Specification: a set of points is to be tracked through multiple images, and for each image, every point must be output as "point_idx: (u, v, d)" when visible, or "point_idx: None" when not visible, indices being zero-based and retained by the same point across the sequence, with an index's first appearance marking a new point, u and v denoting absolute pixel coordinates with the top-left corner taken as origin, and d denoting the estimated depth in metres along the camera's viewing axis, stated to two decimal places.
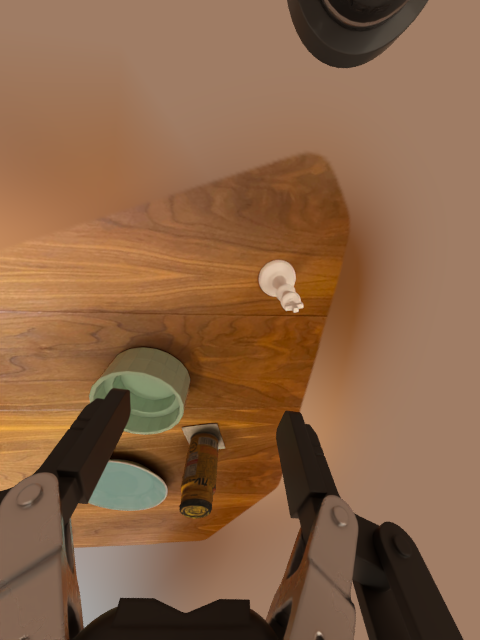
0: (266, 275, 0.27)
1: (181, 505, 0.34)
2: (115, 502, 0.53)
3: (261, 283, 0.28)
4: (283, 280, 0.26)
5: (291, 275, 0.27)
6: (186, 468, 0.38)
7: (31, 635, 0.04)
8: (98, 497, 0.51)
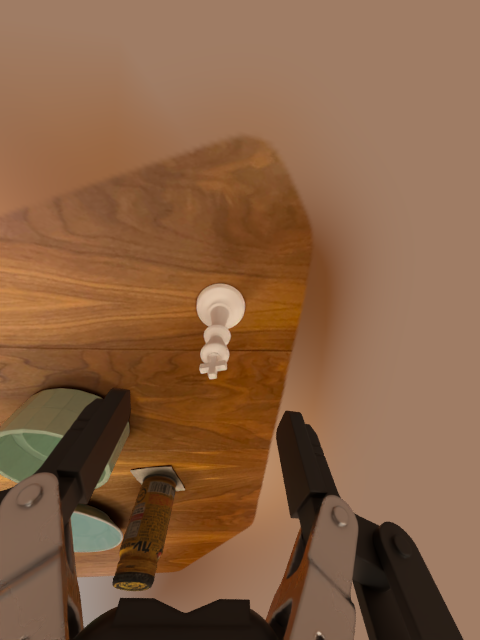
0: (203, 304, 0.20)
1: (113, 580, 0.27)
2: None
3: (199, 314, 0.21)
4: (222, 313, 0.19)
5: (237, 304, 0.20)
6: (129, 525, 0.32)
7: (31, 635, 0.04)
8: None
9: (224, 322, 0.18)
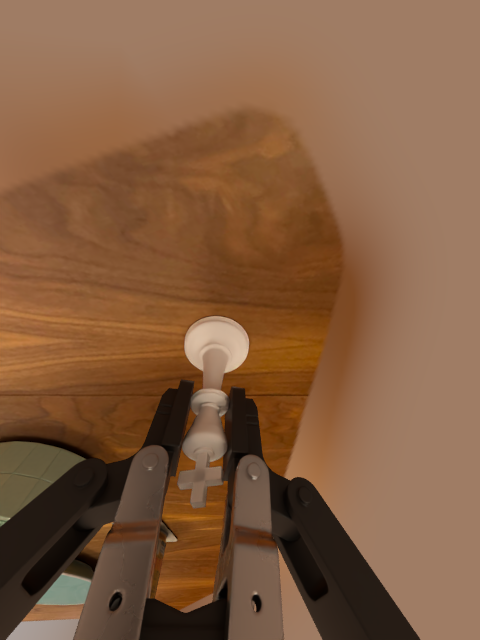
0: (193, 344, 0.15)
1: None
2: (44, 595, 0.41)
3: (188, 355, 0.16)
4: (218, 361, 0.13)
5: (239, 343, 0.15)
6: None
7: (124, 595, 0.04)
8: None
9: (221, 376, 0.13)
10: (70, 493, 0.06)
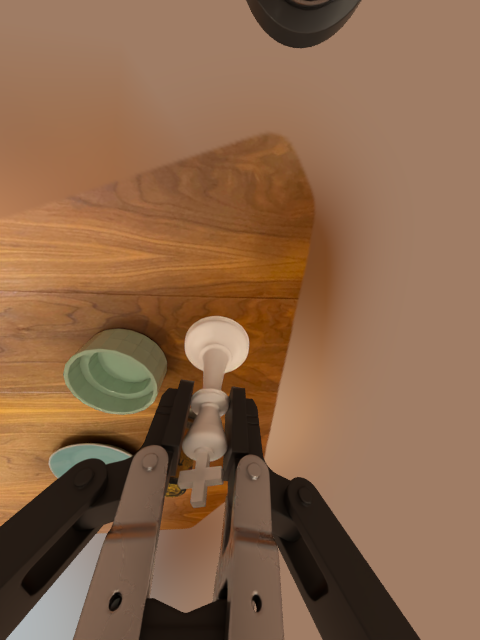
0: (193, 345, 0.15)
1: None
2: None
3: (188, 355, 0.16)
4: (218, 361, 0.14)
5: (239, 343, 0.15)
6: None
7: (124, 594, 0.04)
8: None
9: (221, 376, 0.13)
10: (70, 493, 0.06)
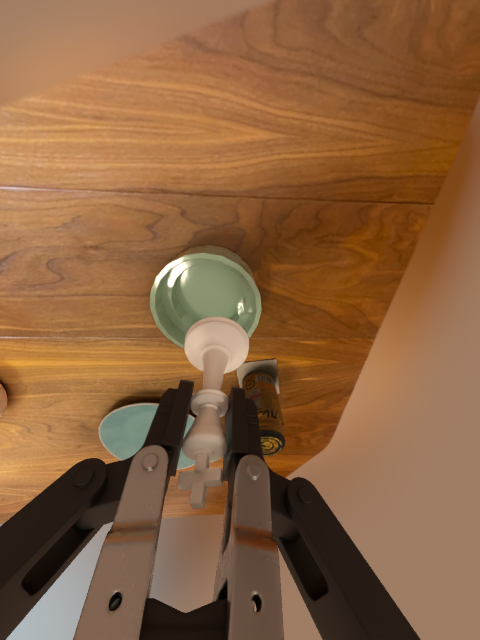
0: (193, 345, 0.15)
1: None
2: None
3: (187, 356, 0.16)
4: (218, 361, 0.14)
5: (238, 344, 0.15)
6: None
7: (124, 595, 0.04)
8: (130, 454, 0.46)
9: (221, 376, 0.13)
10: (70, 493, 0.06)
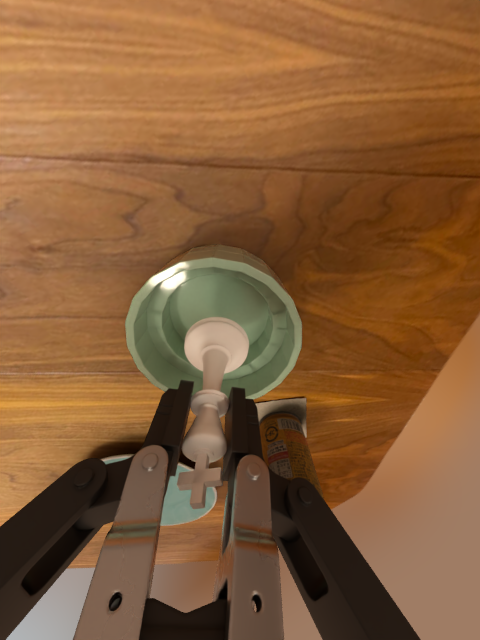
0: (193, 345, 0.15)
1: None
2: None
3: (187, 356, 0.16)
4: (218, 361, 0.14)
5: (238, 344, 0.15)
6: (270, 466, 0.23)
7: (124, 595, 0.04)
8: None
9: (220, 377, 0.13)
10: (70, 493, 0.06)
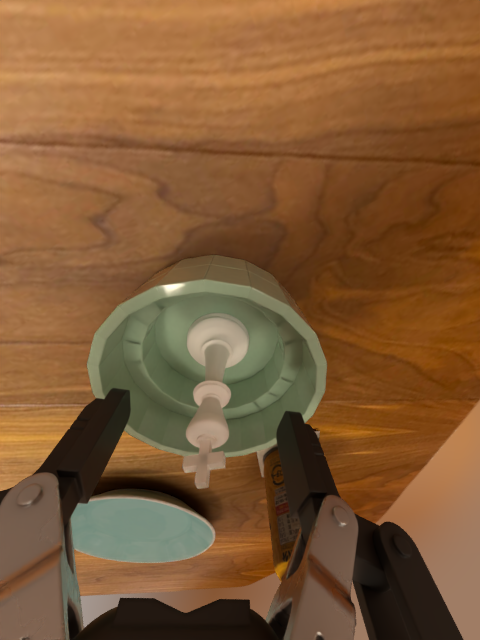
0: (195, 340, 0.16)
1: None
2: (129, 550, 0.34)
3: (190, 351, 0.16)
4: (219, 355, 0.14)
5: (239, 339, 0.16)
6: (278, 519, 0.19)
7: (31, 635, 0.04)
8: (102, 544, 0.33)
9: (222, 369, 0.13)
10: None
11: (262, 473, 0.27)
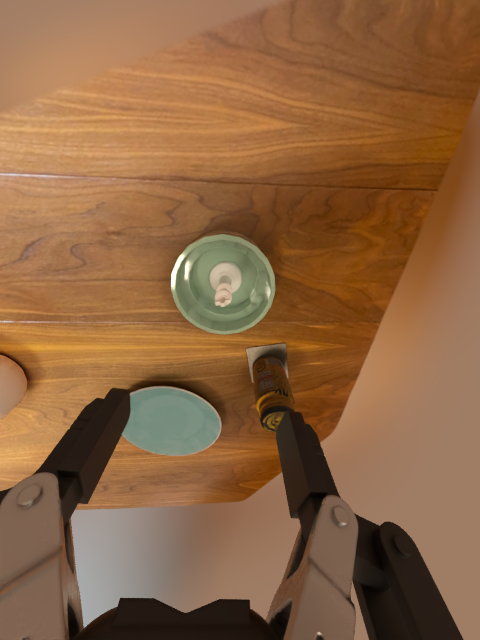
0: (214, 275, 0.30)
1: (264, 413, 0.30)
2: (161, 446, 0.49)
3: (211, 282, 0.31)
4: (226, 279, 0.29)
5: (236, 275, 0.30)
6: (259, 384, 0.34)
7: (31, 635, 0.04)
8: (143, 439, 0.48)
9: (228, 284, 0.28)
10: None
11: (252, 379, 0.42)
